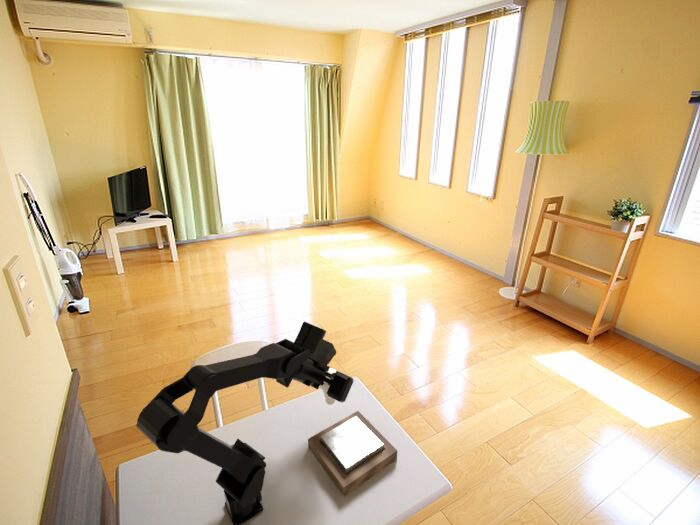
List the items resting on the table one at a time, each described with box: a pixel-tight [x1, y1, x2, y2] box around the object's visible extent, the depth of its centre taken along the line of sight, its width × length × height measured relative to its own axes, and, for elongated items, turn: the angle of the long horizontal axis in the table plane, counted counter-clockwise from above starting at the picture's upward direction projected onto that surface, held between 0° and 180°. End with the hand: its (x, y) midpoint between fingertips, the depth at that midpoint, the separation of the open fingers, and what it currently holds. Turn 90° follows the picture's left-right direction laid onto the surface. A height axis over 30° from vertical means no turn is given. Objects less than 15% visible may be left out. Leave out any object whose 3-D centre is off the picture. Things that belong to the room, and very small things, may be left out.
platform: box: [321, 416, 384, 475], centre depth 91 cm, size 11×11×2 cm
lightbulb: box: [319, 367, 337, 406], centre depth 98 cm, size 6×6×11 cm
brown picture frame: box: [307, 410, 398, 497], centre depth 91 cm, size 16×16×3 cm
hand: (333, 381), depth 99 cm, fingers closed on lightbulb, 6 cm apart
